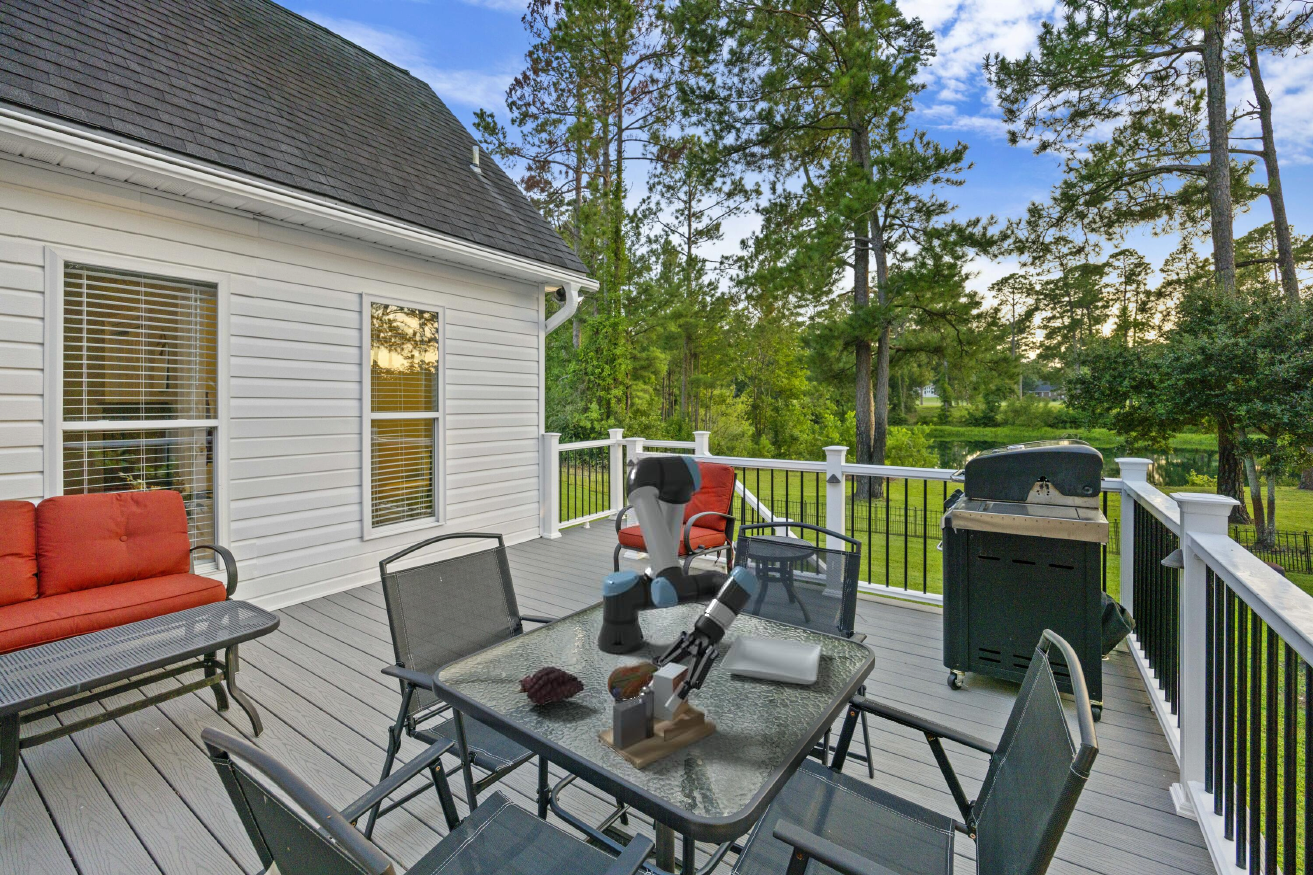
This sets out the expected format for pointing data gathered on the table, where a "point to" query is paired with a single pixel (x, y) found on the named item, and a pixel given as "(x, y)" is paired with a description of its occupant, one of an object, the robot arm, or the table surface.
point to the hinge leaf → (634, 720)
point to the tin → (630, 680)
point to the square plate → (773, 659)
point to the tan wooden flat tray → (664, 737)
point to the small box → (668, 690)
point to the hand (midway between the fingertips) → (659, 700)
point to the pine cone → (550, 685)
